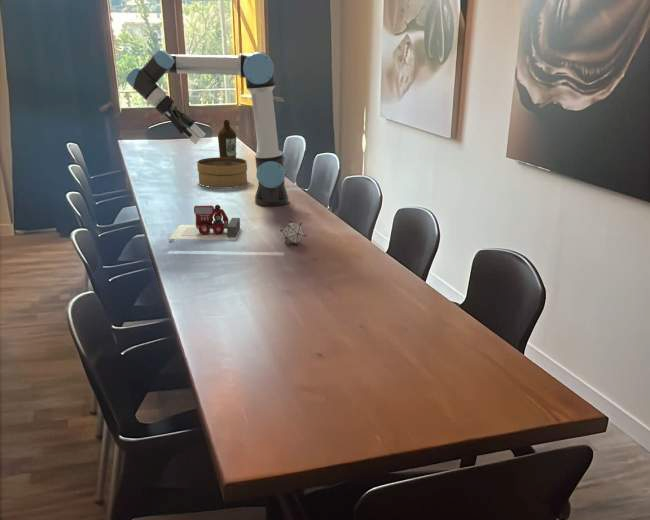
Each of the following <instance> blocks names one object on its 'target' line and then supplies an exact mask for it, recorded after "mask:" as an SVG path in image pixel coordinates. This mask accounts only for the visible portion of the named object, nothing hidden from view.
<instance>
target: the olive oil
mask: <svg viewBox="0 0 650 520" xmlns="http://www.w3.org/2000/svg"><path fill="white" fill-rule="evenodd" d="M230 122H231V121H230V119H229V118H224V119H223V127H221V129H220V130H219V132H218V133H217V139H218V151H219V157H229V158H237V133H236V131H235V130H234V129H233V128H232V127H231V125H230Z"/></svg>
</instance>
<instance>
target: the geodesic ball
mask: <svg viewBox="0 0 650 520" xmlns="http://www.w3.org/2000/svg"><path fill="white" fill-rule="evenodd" d="M301 225H302V222H300V223H294V222H291V220H289V223H288V224H287V225H286V226H285V227H284V228H283V229H280V230H279V232H282V235H283V237H284V240H285V241H284V243H285V244H287V243H290V244H295V246H296V247H297V246H298V243H299V242H300V241H301V240H302V239H303V238H304V237H307V235H305V233H304V230H303V228H302V226H301Z"/></svg>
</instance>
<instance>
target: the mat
mask: <svg viewBox="0 0 650 520" xmlns="http://www.w3.org/2000/svg"><path fill="white" fill-rule="evenodd" d="M241 229H242V225H240V229H239V231H238V233H237V236H236V237H227V229H224V231H223V233H222V234H215V233H214V232H213V229H210V232H209V233H208V234H206V235H202V234H201V233H200V232H199V229H197V228H196V224H179V226H177V228H176V230H174V232H173V233H172V235H171V236H170V237H169V238H168V242H169V241H171V242H173V243H174V241H175V240H200V241H201V240H204V241H205V240H206V241H207V240H210V241H236V239H237V237H238V235H239V233H240V231H241ZM171 242H170V243H171Z"/></svg>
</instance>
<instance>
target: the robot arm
mask: <svg viewBox="0 0 650 520" xmlns="http://www.w3.org/2000/svg"><path fill="white" fill-rule="evenodd" d="M274 67H275V66H274V61H273V59H272V58H271V56H270V55H269V54H267V53H265V52H263V51H254V52H249V53H248V52H247V53H239V54H238V55H213V54H212V55H206V54H204V55H203V54H172V53H171V54H170V53H169V52H168V51H166V50H165V49H163V48H159V49H158V50H157V51H156V52H155V53H154V54H153V55H152V56H151V58H150V59H149V60H148V61H147V62H146V64H145V65H144V66H142V68H140V67H139V66H136V67H134V68H133V69H132V70H131V71H130V72H129V73H128V74H127V76H126V77H125V78H126V79H125V80H126V82H127V83H128V84H129V85H130V87H131V88H132V89H133V90H134V91H135V92H137V93H138V94H139V95H140V96H141V97H142V98H143V99H144V100H145V101H146V102H147V105H151V106H152V107H153V108H155V110H156V111H157V113H159V114H160V115H165V117H167V119H169V121H170V122H171V123H172V125H173V126H174V127H175V128H176V129H177V130H178V132H179V134H181V135H182V134H184V135H185V137H187V138H188V139H189V140H190V141H191V142H192V143H193V144H194V145H196V144H197V143H198V142H199V141H201V140H202V139H203V138H204V137H206V134H207V133H205V131H203V130H202V129H201V128H200V127H199V126H198V125H197V124H196V120H194V119H192V117H190V116H188V115H187V114H185V112H183V111H181V109H179V107H177V106H173V105H174V103H175V100H173V98H172V97H170V96H169V95H167V92H166V91H164V89H162V88H161V87H160V86H159V85H158V84H157V83H158V82H160V80H161V79H162V77H163V76H164V75H165V74H186V75H187V74H188V75H189V74H191V75H220V76H221V75H222V76H223V75H224V76H225V75H228V76H231V75H232V76H238V77H239V78H241V79H242V78H245V87H246V90H247V91H249V92H250V96H251V97H250V98H251V104H252V112H253V119H254V127H255V130H254V131H255V136H256V143H257V145H256V146H257V153H256V154H255V156H254V159H255V167H256V179H257V181H258V186H257V190H256V192H255V196H254V203H255V204H256V205H259V206H265V207H278V206H284V205H287V204H289V201H290V200H289V194H288V192H287V188H286V186H285V185H286V183H285V179H286V171H285V158H286V156H285V152H284V151H281V150H280V149H279V141H278V140H279V139H278V132H277V123H276V121H277V120H276V114H275V103H274V96H273V91H274V89H275V87H276V80H275V68H274ZM187 126H188V127H187Z"/></svg>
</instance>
